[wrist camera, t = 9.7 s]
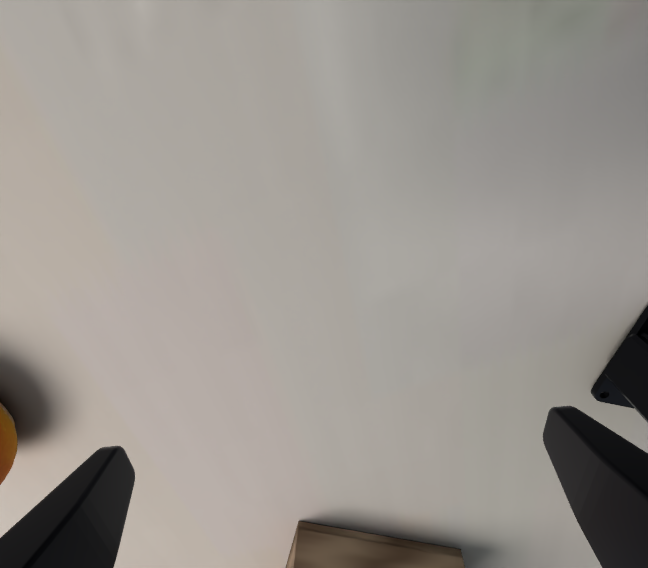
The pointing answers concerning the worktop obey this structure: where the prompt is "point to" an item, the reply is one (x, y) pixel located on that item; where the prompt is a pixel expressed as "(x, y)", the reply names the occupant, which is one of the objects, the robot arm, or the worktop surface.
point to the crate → (364, 550)
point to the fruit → (6, 442)
